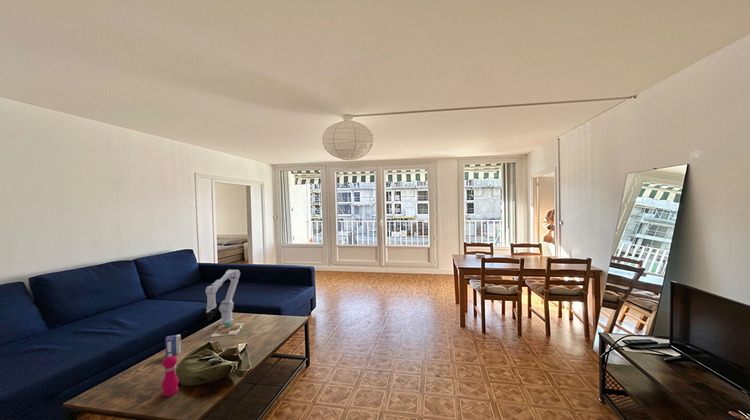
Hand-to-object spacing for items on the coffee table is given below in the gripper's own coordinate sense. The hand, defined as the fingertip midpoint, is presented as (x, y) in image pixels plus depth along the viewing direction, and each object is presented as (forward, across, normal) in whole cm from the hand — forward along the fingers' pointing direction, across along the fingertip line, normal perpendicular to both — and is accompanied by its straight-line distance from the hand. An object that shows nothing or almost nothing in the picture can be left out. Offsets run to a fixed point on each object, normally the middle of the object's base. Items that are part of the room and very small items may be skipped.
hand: (211, 318), depth 219 cm
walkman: (+10, +34, -11) cm, 37 cm away
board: (+9, +3, +13) cm, 16 cm away
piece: (+9, +3, +13) cm, 16 cm away
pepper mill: (+10, +78, +9) cm, 79 cm away
